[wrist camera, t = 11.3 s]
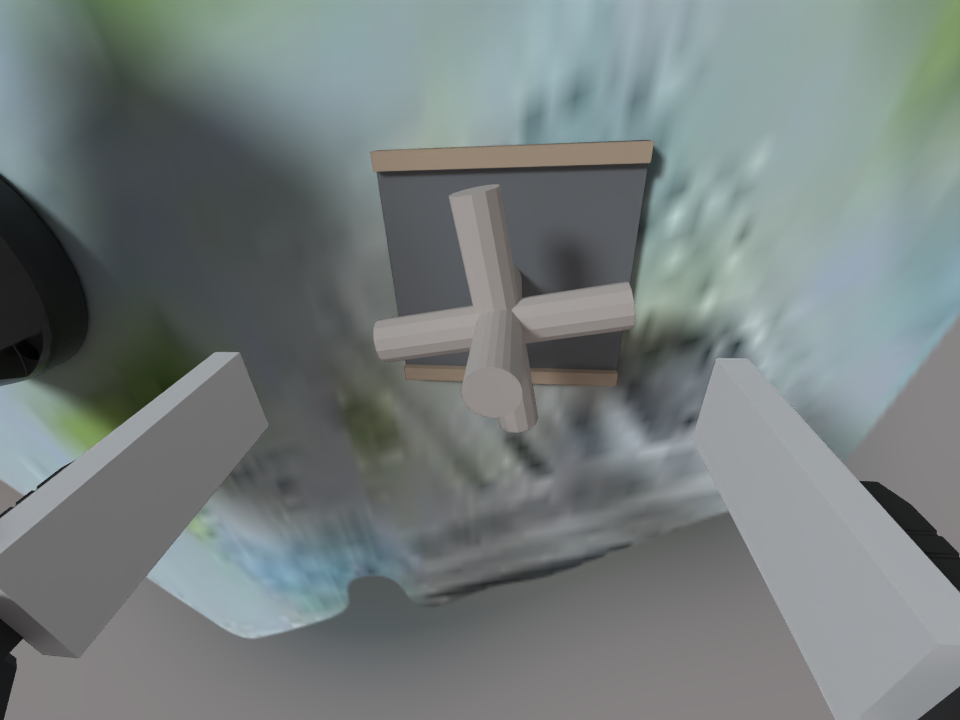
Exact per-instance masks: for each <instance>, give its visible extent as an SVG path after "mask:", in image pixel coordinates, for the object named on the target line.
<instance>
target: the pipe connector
mask: <svg viewBox="0 0 960 720" xmlns="http://www.w3.org/2000/svg"><path fill="white" fill-rule="evenodd" d="M449 200H450V205H451V209H452V214H453V218H454V223H455V227H456V232H457V236H458V241H459V245H460V250H461V254H462V259H463V263H464V268H465V272H466V277H467V281H468V286H469V290H470V295H471V299H472V304H473V305H472V306H465V307H459V308H452V309H446V310H439V311H433V312H426V313H420V314H413V315H407V316H400V317H394V318H388V319H381V320H378V321H376V323H375V326H374V329H373V339H374V344H375V349H376V352H377V354H378V356H379V358H380V359H381V360H382V361H384V362H393V361H400V360H407V359H415V358H422V357H430V356H437V355H444V354H452V353H459V352H467V351H470V352H469V357H468V361H467V366H466V370H465V375H464V379H463V384H462V389H461V394H462V398H463V401H464V403H465V404H466V405H467V407H468V408H469V409H470V410H472V411H473V412H474V413H476V414H479V415H481V416H484V417H489V418H497V417H498V420H499V424H500V426H501V428H502V429H504V430H506V431H508V432H517V433H518V432H522V431H526V430H529V429H530V428H531V427H533V426H534V425H535V424H536V422H537V419H538V415H537V408H536V402H535V396H534V390H533V384H532V378H531V372H530V365H529V359H528V353H527V347H526V343H533V342H541V341H548V340H556V339H563V338H570V337H578V336H585V335H593V334H600V333H607V332H615V331H622V330H630V329H633V327H634V324H635V308H634V299H633V294H632V289H631V287H630V284H629V283H628V282H620V283H614V284H607V285H601V286H594V287H588V288H581V289H575V290H569V291H562V292H556V293H549V294H543V295H536V296H530V297H523V298H522V277H521V273H520V272H519V270H518V269H517V268H516V267H515V266H514V265H513V261H512V255H511V249H510V243H509V236H508V230H507V224H506V218H505V212H504V206H503V200H502V194H501V187H500V185H498V184H492V185H484V186H479V187H474V188H470V189H465V190H462V191H459V192H455V193H453V194H451V195H449Z"/></svg>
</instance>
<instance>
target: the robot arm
mask: <svg viewBox="0 0 960 720" xmlns="http://www.w3.org/2000/svg"><path fill="white" fill-rule="evenodd" d="M86 329H87V311H86V305H85V300H84V296H83V293H82V290H81V287H80V284H79V281H78V279H77V277H76V274H75V272H74V270H73V268H72V266H71V264H70V262H69V260H68V259H67V257H66V255H65V253H64V252H63V250H62V249H61V247H60V246H59V244H58V242H57V241H56V239H55V238H54V237H53V235H52V234H51V233H50V231H49V230H48V229H47V227H46V226H45V225H44V223H43V222H42V221H41V220H40V218H39V217H38V216H37V215H36V214H35V213H34V211H33V210H32V209H31V208H30V207H29V206H28V205H27V204H26V203H25V202H24V201H23V200H22V199H21V198H20V197H19V196H18V195H17V194H16V193H15V192H14V191H13V190H12V189H11V188H10V187H9V186H8V185H7V184H6V183H5V182H4V181H2V180H1V179H0V386H3V385H8V384H12V383H17V382H20V381H24V380H27V379H30V378H32V377H35V376H37V375H39V374H41V373H43V372H45V371H47V370H49V369H51V368H53V367H55V366H56V365H58V364H60V363H62V362H64V361H66V360H68V359H69V358H71V357H72V356H73V355H74V354H75V353H76V352H77V351H78V350H79V348H80V347H81V345H82V343H83V341H84V338H85V334H86ZM268 426H269V425H268V422H267V420H266V417H265V414H264V412H263V409H262V407H261V404H260V402H259V399H258V397H257V394H256V392H255V389H254V387H253V384H252V382H251V379H250V377H249V374H248V372H247V369H246V367H245V364H244V362H243V359H242V357H241V354H240V352H214V353H213V354H212V355H211V356H209V357H208V358H207V359H205V360H204V361H203V362H202V363H200V364H199V365H198V366H196V367H195V368H194V369H193V370H191V371H190V372H189V373H187V374H186V375H185V376H184V377H182V378H181V379H180V380H178V381H177V382H176V383H174V384H173V385H172V386H171V387H169V388H168V389H167V390H165V391H164V392H163V393H162V394H160V395H159V396H158V397H156V398H155V399H154V400H153V401H151V402H150V403H149V404H147V405H146V406H145V407H143V408H142V409H141V410H140V411H138V412H137V413H136V414H134V415H133V416H132V417H131V418H129V419H128V420H127V421H125V422H124V423H123V424H122V425H120V426H119V427H118V428H116V429H115V430H114V431H112V432H111V433H110V434H109V435H107V436H106V437H105V438H103V439H102V440H101V441H100V442H98V443H97V444H96V445H94V446H93V447H92V448H91V449H89V450H88V451H87V452H85V453H84V454H83V455H82V456H80V457H79V458H78V459H76V460H75V461H73V462H71V463H69V464H67V465H65V466H64V467H62V468H60V469H59V470H58V471H57V472H55V473H54V474H53V475H51V476H50V477H49V478H47V479H46V480H45V481H44V482H42V483H41V484H40V485H38V486H37V489H36V490H35V491H31V492H29V493H28V494H27V495H25V496H24V497H23V498H21V499H20V500H19V501H17V502H16V506H15V507H10V508H8V509H7V510H6V511H4V512H3V513H2V514H1V515H0V720H4V716H5V712H6V709H7V705H8V701H9V697H10V693H11V688H12V685H13V681H14V677H15V673H16V669H17V664H16V658H15V657H14V656H12V655H11V654H10V651H12V649H13V648H14V647H15V646H16V645H17V644H18V643H19V642H20V641H21V640H22V639H24V640H25V641H26V642H28V643H29V644H30V645H31V646H33V647H34V648H35V649H36V650H38V651H39V652H40V653H41V654H42V655H51V656H60V657H71V658H80V657H81V655H82V654H83V653H84V652H85V650H86V649H87V648H88V647H89V646H90V644H91V643H92V642H93V641H94V639H95V638H96V637H97V636H98V634H99V633H100V632H101V631H102V630H103V628H104V627H105V626H106V625H107V624H108V622H109V621H110V620H111V619H112V617H113V616H114V615H115V614H116V612H117V611H118V610H119V609H120V608H121V606H122V605H123V604H124V603H125V601H126V600H127V599H128V598H129V597H130V595H131V594H132V593H133V592H134V590H135V589H136V588H137V587H138V585H139V584H140V583H141V582H142V581H143V579H144V578H145V577H146V576H147V575H148V573H149V572H150V571H151V570H152V568H153V567H154V566H155V565H156V564H157V562H158V561H159V560H160V559H161V557H162V556H163V555H164V554H165V552H166V551H167V550H168V549H169V548H170V546H171V545H172V544H173V543H174V541H175V540H176V539H177V538H178V537H179V535H180V534H181V533H182V532H183V530H184V529H185V528H186V527H187V526H188V524H189V523H190V522H191V521H192V519H193V518H194V517H195V516H196V515H197V513H198V512H199V511H200V510H201V508H202V507H203V506H204V505H205V503H206V502H207V501H208V500H209V499H210V497H211V496H212V495H213V494H214V492H215V491H216V490H217V489H218V488H219V486H220V485H221V484H222V483H223V481H224V480H225V479H226V478H227V477H228V475H229V474H230V473H231V472H232V470H233V469H234V468H235V467H236V465H237V464H238V463H239V462H240V461H241V459H242V458H243V457H244V456H245V454H246V453H247V452H248V451H249V450H250V448H251V447H252V446H253V445H254V443H255V442H256V441H257V440H258V439H259V437H260V436H261V435H262V434H263V432H264V431H265V430H266V429H267V428H268ZM692 440H693V442H694V444H695V446H696V448H697V450H698V451H699V453H700V455H701V457H702V459H703V461H704V463H705V465H706V467H707V469H708V471H709V473H710V475H711V477H712V479H713V481H714V483H715V485H716V487H717V489H718V491H719V493H720V495H721V496H722V498H723V500H724V502H725V504H726V506H727V508H728V510H729V512H730V514H731V516H732V518H733V520H734V522H735V524H736V526H737V528H738V530H739V532H740V534H741V536H742V537H743V540H744V542H745V543H746V545H747V547H748V549H749V551H750V553H751V555H752V557H753V559H754V561H755V563H756V565H757V567H758V569H759V571H760V573H761V575H762V576H763V579H764V581H765V583H766V585H767V587H768V588H769V590H770V592H771V594H772V596H773V598H774V600H775V602H776V604H777V606H778V608H779V610H780V612H781V614H782V616H783V618H784V620H785V622H786V624H787V626H788V628H789V629H790V632H791V633H792V635H793V637H794V639H795V641H796V643H797V645H798V647H799V649H800V651H801V653H802V655H803V657H804V659H805V661H806V663H807V665H808V666H809V669H810V671H811V673H812V675H813V676H814V678H815V680H816V682H817V684H818V686H819V688H820V690H821V692H822V694H823V696H824V698H825V700H826V702H827V704H828V706H829V708H830V710H831V712H832V714H833V716H834V718H835V720H960V558H959V553H958V552H957V551H956V550H955V549H954V548H953V547H952V546H951V545H950V544H949V543H948V542H947V541H946V540H945V539H944V538H943V537H942V536H938V535H937V533H936V532H937V531H936V530H935V529H934V528H933V526H932V525H931V524H929V523H928V521H927V520H926V519H925V518H924V517H923V516H922V515H921V514H920V513H918V511H917V510H916V509H915V508H914V507H913V506H912V505H911V504H909V503H908V502H906V501H905V500H903V499H902V498H900V497H899V496H898V495H896V494H895V493H893V492H892V491H890V490H888V489H887V488H886V487H884V486H883V485H881V484H880V483H878V482H870V481H858V480H857V478H856V477H855V476H854V475H853V474H852V473H851V472H850V471H849V470H848V469H847V467H846V466H845V465H844V464H843V463H842V462H841V461H840V460H839V459H838V457H837V456H836V455H835V454H834V453H833V452H832V451H831V450H830V449H829V447H828V446H827V445H826V444H825V443H824V442H823V441H822V440H821V439H820V438H819V436H818V435H817V434H816V433H815V432H814V431H813V430H812V429H811V428H810V426H809V425H808V424H807V423H806V422H805V421H804V420H803V419H802V418H801V417H800V415H799V414H798V413H797V412H796V411H795V410H794V409H793V408H792V407H791V405H790V404H789V403H788V402H787V401H786V400H785V399H784V398H783V397H782V396H781V394H780V393H779V392H778V391H777V390H776V389H775V388H774V387H773V386H772V384H771V383H770V382H769V381H768V380H767V379H766V378H765V377H764V376H763V375H762V373H761V372H760V371H759V370H758V369H757V368H756V367H755V366H754V365H753V363H752V362H751V361H750V360H749V359H742V358H716V362H715V365H714V368H713V372H712V375H711V378H710V382H709V385H708V388H707V392H706V395H705V398H704V402H703V405H702V408H701V411H700V415H699V418H698V421H697V425H696V428H695V431H694V435H693V438H692Z"/></svg>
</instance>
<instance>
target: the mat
mask: <svg viewBox="0 0 960 720" xmlns="http://www.w3.org/2000/svg"><path fill="white" fill-rule="evenodd" d="M653 144H654V141H651V140H635V141H609V142H582V143H556V144H530V145H504V146H477V147H451V148H425V149H399V150H377V151H372V152H370V153H371V159H372V165H373V172H377V178H378V184H379V191H380V197H381V204H382V210H383V217H384V223H385V230H386V236H387V243H388V250H389V256H390V263H391V269H392V276H393V282H394V289H395V295H396V302H397V308H398V315H399V317H400V316H407V315H413V314H420V313H426V312H433V311H439V310H446V309H452V308H459V307H465V306H472V305H473V304H472V299H471V295H470V290H469V286H468V281H467V277H466V272H465V268H464V263H463V259H462V254H461V250H460V245H459V241H458V236H457V232H456V227H455V223H454V218H453V214H452V209H451V205H450V200H449V195H451V194H453V193H455V192H459V191H462V190H465V189H470V188H474V187H479V186H484V185H492V184H498V185H500V187H501V194H502V200H503V206H504V212H505V218H506V224H507V230H508V236H509V243H510V249H511V255H512V261H513V265H514V266H515V267H516V268H517V269H518V270H519V272H520V273H521V277H522V298H523V297H530V296H536V295H543V294H549V293H556V292H562V291H569V290H575V289H581V288H588V287H594V286H601V285H607V284H614V283H620V282H628V283H629V284H630V279H631V273H632V266H633V260H634V253H635V247H636V240H637V233H638V227H639V220H640V214H641V207H642V201H643V194H644V187H645V181H646V174H647V168H648V163H651V157H652V151H653ZM622 332H623V330H622V331H615V332H607V333H600V334H593V335H585V336H578V337H570V338H563V339H556V340H548V341H541V342H533V343H526V347H527V353H528V359H529V365H530V372H531V378H532V384H558V385H588V386H616V383H617V377H618V373H617V365H618V358H619V352H620V345H621V338H622ZM469 352H470V351H467V352H459V353H452V354H444V355H437V356H430V357H422V358H415V359H407V360H405V361H406V365H405V367H404V370H405V376H406V379H408V380H438V381H463V379H464V375H465V370H466V366H467V361H468V357H469Z"/></svg>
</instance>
